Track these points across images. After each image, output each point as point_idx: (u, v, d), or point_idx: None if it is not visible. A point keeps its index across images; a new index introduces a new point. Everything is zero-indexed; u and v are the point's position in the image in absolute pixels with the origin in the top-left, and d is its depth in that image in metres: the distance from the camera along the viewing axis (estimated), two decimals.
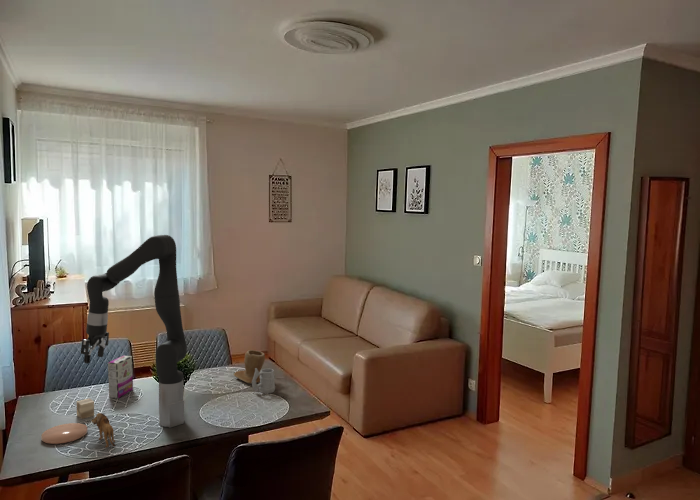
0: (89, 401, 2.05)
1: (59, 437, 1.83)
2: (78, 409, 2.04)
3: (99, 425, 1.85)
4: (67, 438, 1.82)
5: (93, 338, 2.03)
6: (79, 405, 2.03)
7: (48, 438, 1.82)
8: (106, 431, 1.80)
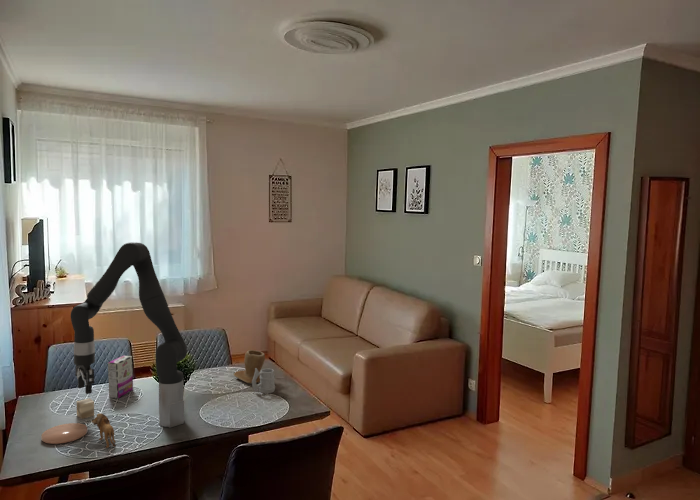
0: (89, 401, 2.05)
1: (59, 437, 1.83)
2: (78, 409, 2.04)
3: (99, 426, 1.85)
4: (67, 438, 1.82)
5: None
6: (79, 405, 2.03)
7: (48, 438, 1.82)
8: (107, 431, 1.80)
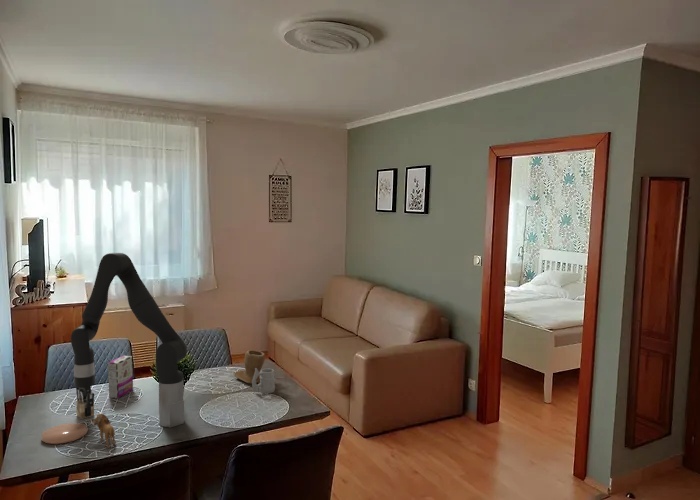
0: None
1: (59, 437, 1.83)
2: (78, 409, 2.04)
3: (99, 426, 1.84)
4: (67, 438, 1.82)
5: None
6: (79, 405, 2.03)
7: (48, 438, 1.82)
8: (107, 432, 1.79)
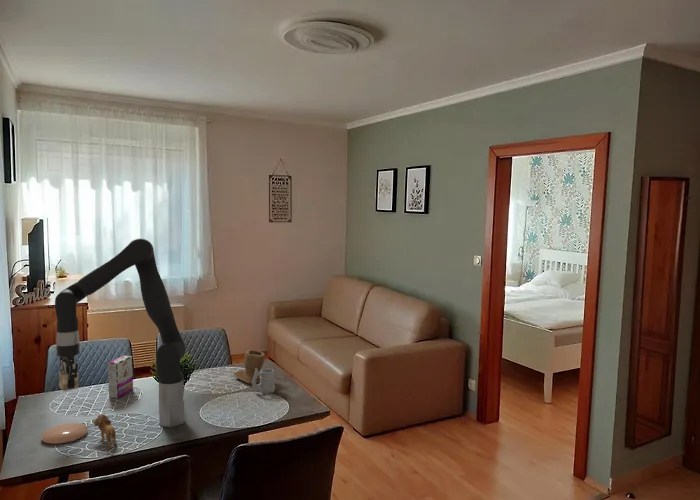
0: None
1: (59, 437, 1.83)
2: (61, 380, 1.89)
3: (100, 427, 1.84)
4: (67, 438, 1.82)
5: None
6: (62, 376, 1.88)
7: (48, 438, 1.82)
8: (108, 433, 1.79)
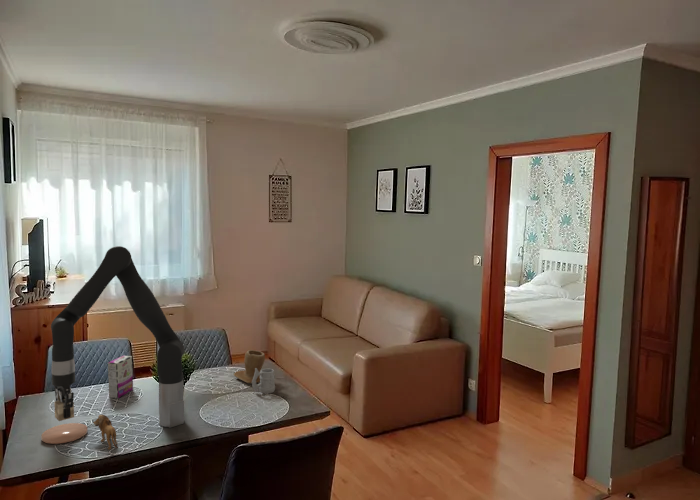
0: None
1: (59, 437, 1.83)
2: (56, 410, 1.85)
3: (101, 427, 1.84)
4: (67, 438, 1.82)
5: None
6: (57, 405, 1.84)
7: (48, 438, 1.82)
8: (109, 433, 1.79)
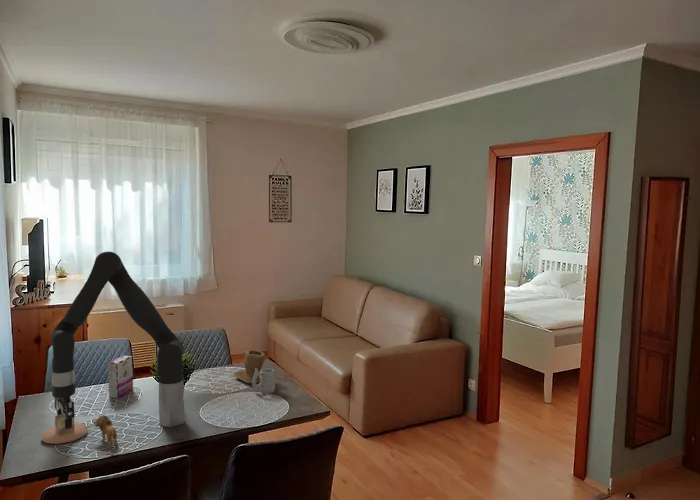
0: None
1: (59, 437, 1.83)
2: (56, 425, 1.86)
3: (101, 428, 1.83)
4: (67, 438, 1.82)
5: None
6: (57, 420, 1.85)
7: (48, 438, 1.82)
8: (109, 433, 1.78)
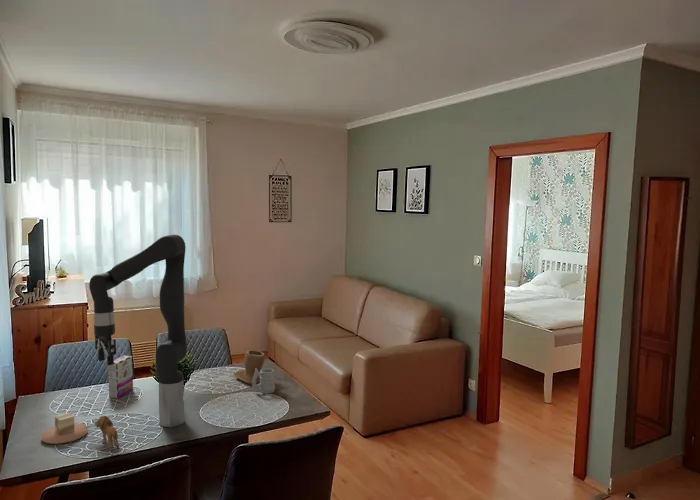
0: (69, 416, 1.87)
1: (59, 437, 1.83)
2: (56, 425, 1.86)
3: (102, 428, 1.83)
4: (67, 438, 1.82)
5: None
6: (57, 420, 1.85)
7: (48, 438, 1.82)
8: (110, 434, 1.78)
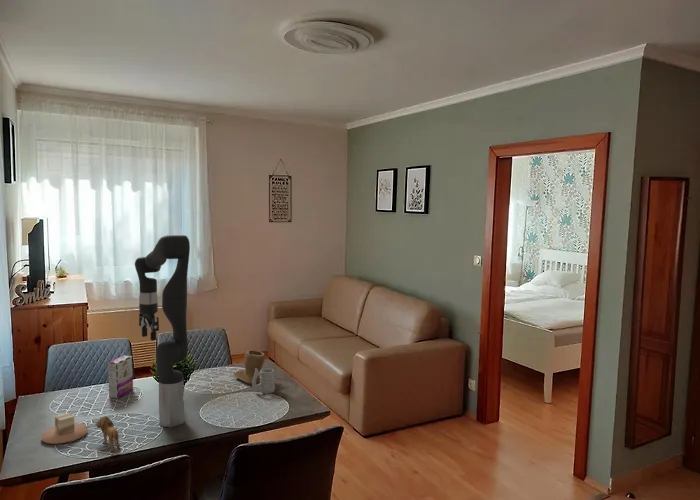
0: (69, 416, 1.87)
1: (59, 437, 1.83)
2: (56, 425, 1.86)
3: (103, 429, 1.82)
4: (67, 438, 1.82)
5: None
6: (57, 420, 1.85)
7: (48, 438, 1.82)
8: (111, 435, 1.77)
